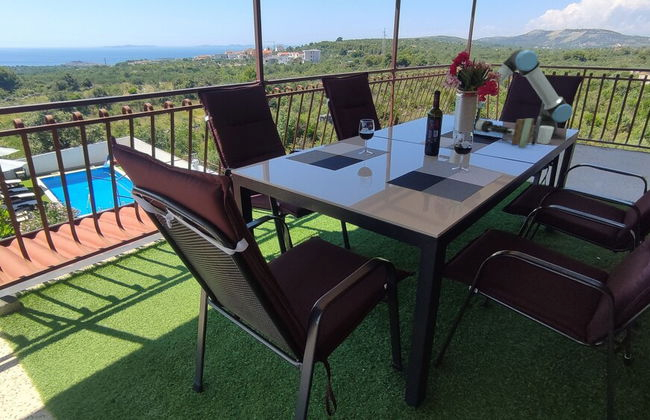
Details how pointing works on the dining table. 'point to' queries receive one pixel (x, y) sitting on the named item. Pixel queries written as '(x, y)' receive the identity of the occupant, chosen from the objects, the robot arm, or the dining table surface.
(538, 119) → the frame
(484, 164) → the dining table surface
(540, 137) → the white cup
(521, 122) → the brown green flat panel
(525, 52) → the robot arm
